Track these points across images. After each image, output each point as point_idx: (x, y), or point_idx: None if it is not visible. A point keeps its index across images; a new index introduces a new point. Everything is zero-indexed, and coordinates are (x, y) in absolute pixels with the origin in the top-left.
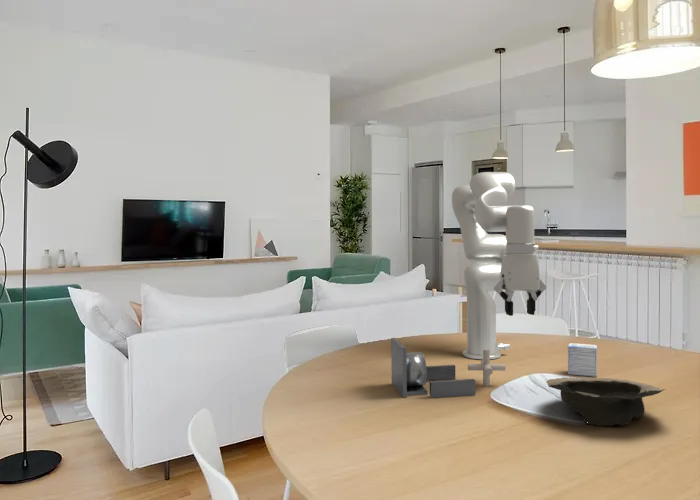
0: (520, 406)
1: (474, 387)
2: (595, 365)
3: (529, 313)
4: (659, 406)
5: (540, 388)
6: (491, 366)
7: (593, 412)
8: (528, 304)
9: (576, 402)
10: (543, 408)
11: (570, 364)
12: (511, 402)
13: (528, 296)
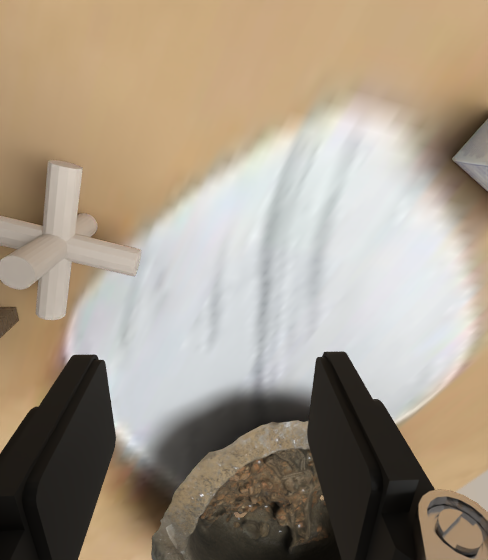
0: (123, 416)
1: (2, 333)
2: None
3: (311, 402)
4: (433, 454)
5: (252, 294)
6: (75, 261)
7: (220, 548)
8: (342, 461)
9: (199, 544)
10: (174, 433)
11: (483, 170)
12: (110, 388)
13: (421, 549)
